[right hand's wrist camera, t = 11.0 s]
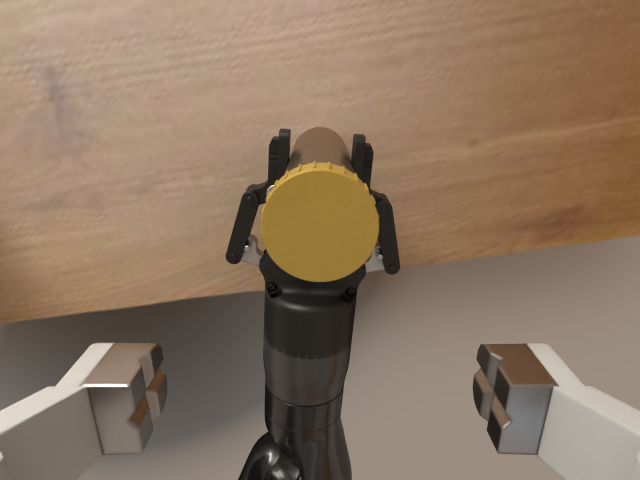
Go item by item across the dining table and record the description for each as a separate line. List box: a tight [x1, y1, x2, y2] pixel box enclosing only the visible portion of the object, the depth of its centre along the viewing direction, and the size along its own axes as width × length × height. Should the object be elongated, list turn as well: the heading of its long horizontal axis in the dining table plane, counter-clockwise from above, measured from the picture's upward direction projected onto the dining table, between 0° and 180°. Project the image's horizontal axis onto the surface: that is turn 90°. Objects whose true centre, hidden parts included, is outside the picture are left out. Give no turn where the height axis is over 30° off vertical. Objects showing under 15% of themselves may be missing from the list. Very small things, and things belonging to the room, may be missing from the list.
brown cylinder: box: [284, 127, 355, 175], centre depth 29 cm, size 5×5×19 cm
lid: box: [260, 161, 379, 282], centre depth 21 cm, size 6×6×2 cm
